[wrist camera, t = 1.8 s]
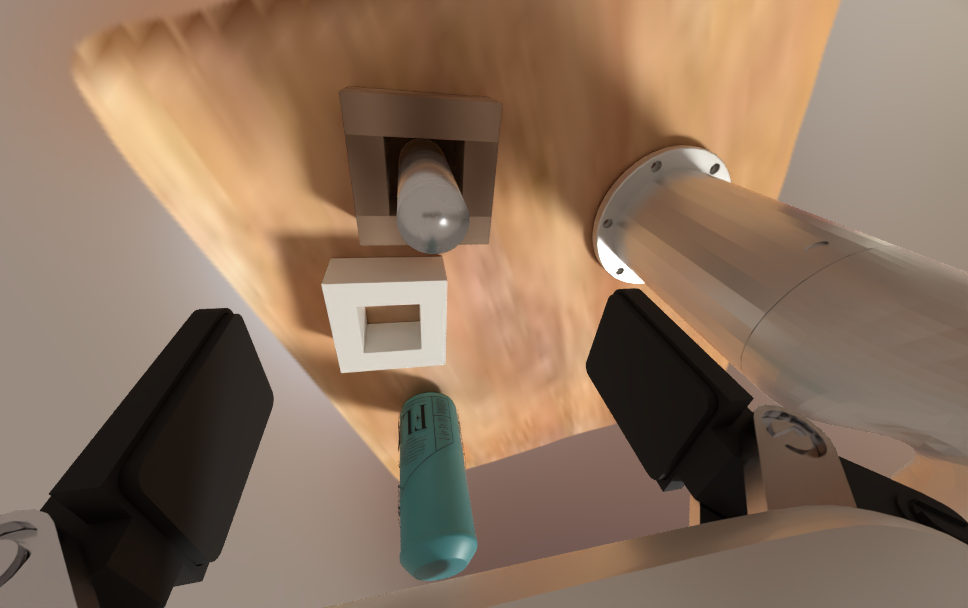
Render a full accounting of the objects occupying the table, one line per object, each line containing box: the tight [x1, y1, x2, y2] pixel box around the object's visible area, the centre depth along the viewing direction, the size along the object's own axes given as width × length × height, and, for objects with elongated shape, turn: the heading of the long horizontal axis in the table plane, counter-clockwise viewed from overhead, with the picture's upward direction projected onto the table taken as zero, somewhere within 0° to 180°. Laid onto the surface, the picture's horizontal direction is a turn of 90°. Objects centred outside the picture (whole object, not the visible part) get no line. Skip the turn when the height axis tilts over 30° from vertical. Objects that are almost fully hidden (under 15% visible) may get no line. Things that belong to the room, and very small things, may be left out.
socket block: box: [339, 86, 502, 246], centre depth 23 cm, size 9×9×4 cm
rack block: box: [321, 257, 447, 373], centre depth 30 cm, size 9×9×4 cm
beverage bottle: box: [398, 392, 477, 581], centre depth 32 cm, size 6×7×20 cm
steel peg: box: [397, 139, 469, 254], centre depth 21 cm, size 3×3×11 cm
